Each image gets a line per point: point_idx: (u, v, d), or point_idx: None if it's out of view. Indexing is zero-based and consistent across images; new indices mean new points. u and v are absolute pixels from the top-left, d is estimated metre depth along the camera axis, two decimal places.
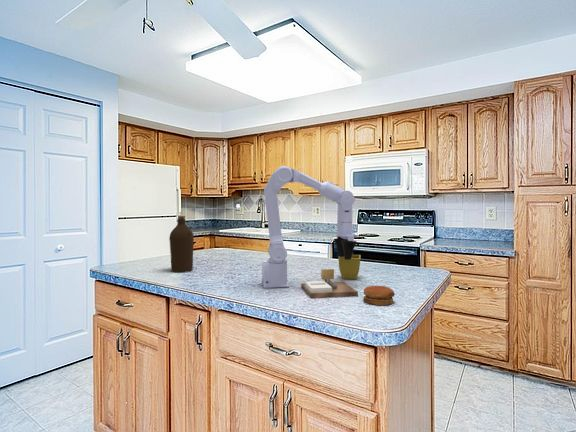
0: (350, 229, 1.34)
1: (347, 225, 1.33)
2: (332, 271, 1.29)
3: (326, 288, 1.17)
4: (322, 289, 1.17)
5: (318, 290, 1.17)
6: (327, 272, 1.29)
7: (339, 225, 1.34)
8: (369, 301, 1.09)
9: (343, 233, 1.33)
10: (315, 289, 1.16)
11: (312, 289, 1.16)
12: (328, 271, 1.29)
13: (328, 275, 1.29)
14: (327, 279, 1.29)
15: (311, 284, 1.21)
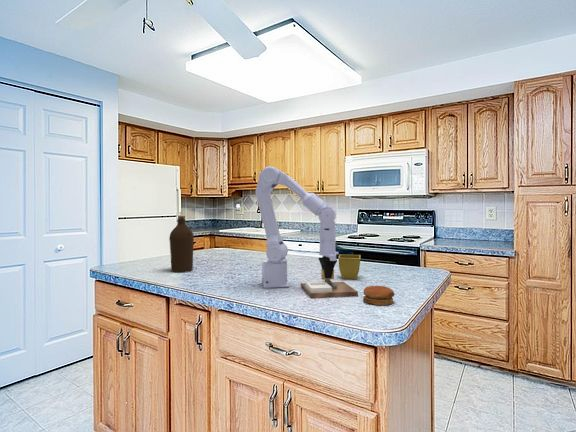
0: (333, 248, 1.27)
1: (329, 244, 1.27)
2: None
3: (326, 288, 1.17)
4: (322, 289, 1.17)
5: (318, 290, 1.17)
6: None
7: (321, 243, 1.28)
8: (369, 301, 1.08)
9: (325, 252, 1.27)
10: (315, 289, 1.16)
11: (312, 289, 1.16)
12: None
13: None
14: (327, 279, 1.29)
15: (311, 284, 1.21)
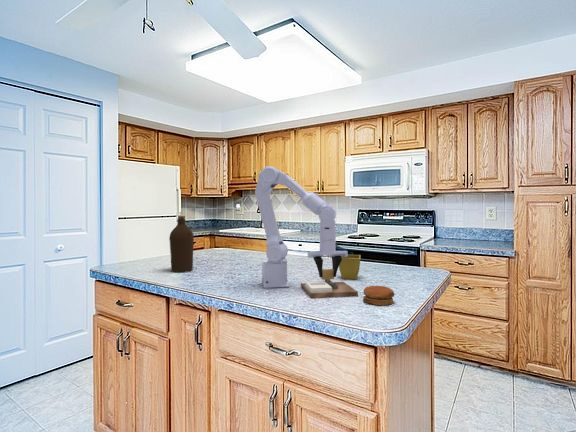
0: None
1: None
2: (332, 271, 1.30)
3: (326, 288, 1.17)
4: (322, 289, 1.17)
5: (318, 290, 1.17)
6: (327, 272, 1.29)
7: (332, 243, 1.27)
8: (369, 301, 1.08)
9: (335, 250, 1.29)
10: (315, 289, 1.16)
11: (312, 289, 1.16)
12: (328, 271, 1.29)
13: (328, 275, 1.29)
14: (327, 279, 1.29)
15: (311, 284, 1.21)
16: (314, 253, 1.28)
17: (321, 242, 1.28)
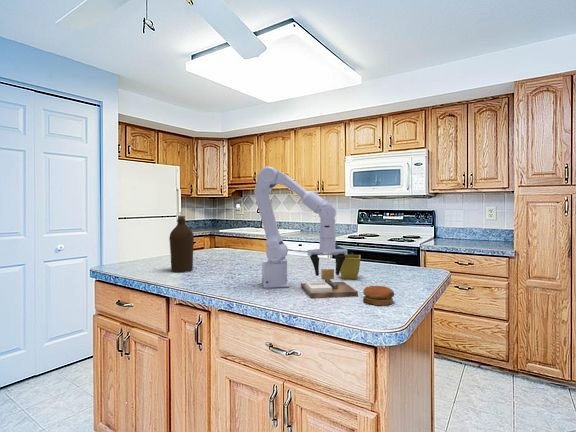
0: None
1: None
2: (332, 271, 1.30)
3: (326, 288, 1.17)
4: (322, 289, 1.17)
5: (318, 290, 1.17)
6: (327, 272, 1.29)
7: (332, 241, 1.27)
8: (369, 301, 1.08)
9: (335, 249, 1.29)
10: (315, 289, 1.16)
11: (312, 289, 1.16)
12: (328, 271, 1.29)
13: (328, 275, 1.29)
14: (327, 279, 1.29)
15: (311, 284, 1.21)
16: (314, 251, 1.28)
17: (321, 240, 1.28)
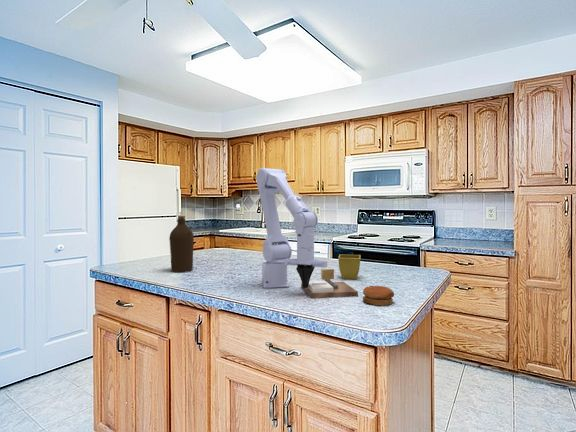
0: None
1: (313, 250, 1.20)
2: (332, 271, 1.30)
3: (327, 288, 1.17)
4: (323, 289, 1.17)
5: (319, 290, 1.17)
6: (327, 272, 1.29)
7: (306, 251, 1.18)
8: (368, 301, 1.08)
9: (311, 260, 1.18)
10: (316, 289, 1.17)
11: (313, 289, 1.16)
12: (328, 271, 1.29)
13: (328, 275, 1.29)
14: (327, 279, 1.29)
15: (312, 284, 1.21)
16: (289, 261, 1.21)
17: (297, 250, 1.21)
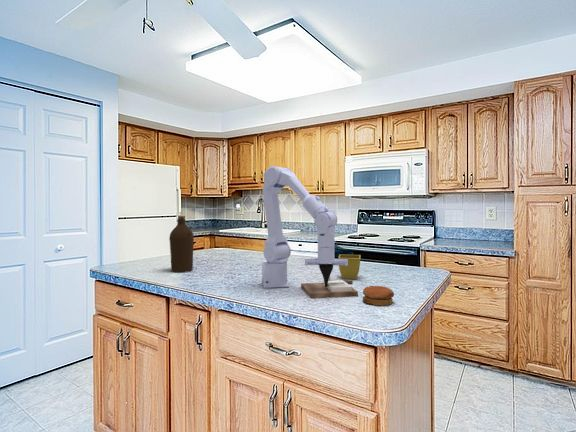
0: None
1: None
2: None
3: (346, 287, 1.18)
4: (342, 288, 1.18)
5: (338, 289, 1.18)
6: None
7: (330, 250, 1.19)
8: (368, 301, 1.08)
9: (333, 259, 1.20)
10: (335, 288, 1.18)
11: (332, 288, 1.17)
12: None
13: None
14: (329, 279, 1.30)
15: (331, 283, 1.22)
16: (310, 261, 1.21)
17: (318, 249, 1.21)
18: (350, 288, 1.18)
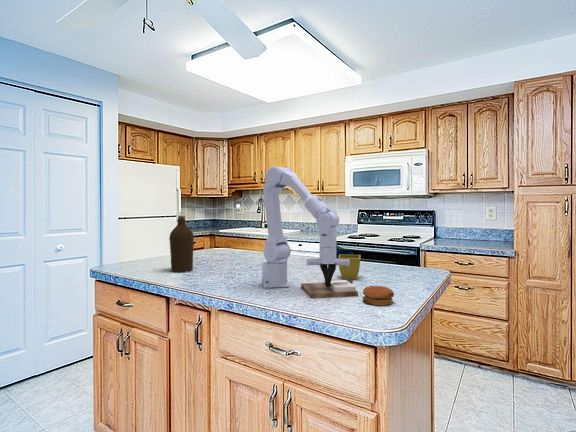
0: None
1: None
2: None
3: (350, 287, 1.19)
4: (346, 288, 1.18)
5: (342, 289, 1.18)
6: None
7: (332, 251, 1.19)
8: (368, 301, 1.08)
9: (335, 259, 1.21)
10: (339, 288, 1.18)
11: (336, 288, 1.18)
12: None
13: None
14: None
15: (334, 283, 1.22)
16: (312, 261, 1.21)
17: (320, 249, 1.21)
18: (354, 288, 1.19)
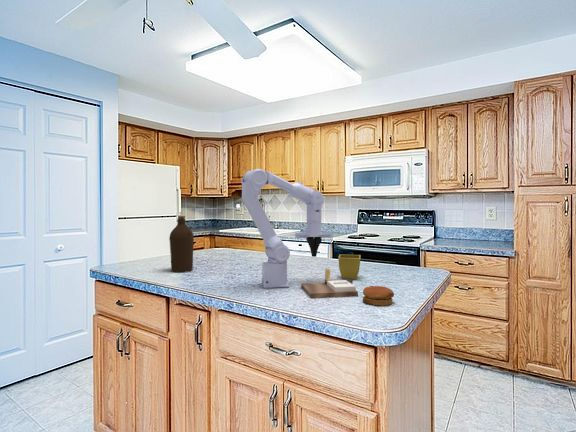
0: None
1: None
2: None
3: (350, 287, 1.19)
4: (346, 288, 1.18)
5: (342, 289, 1.18)
6: None
7: (318, 224, 1.37)
8: (368, 301, 1.08)
9: (321, 232, 1.38)
10: (339, 288, 1.18)
11: (336, 288, 1.18)
12: None
13: None
14: (329, 279, 1.30)
15: (334, 283, 1.22)
16: (301, 234, 1.37)
17: (308, 224, 1.38)
18: (354, 288, 1.19)
